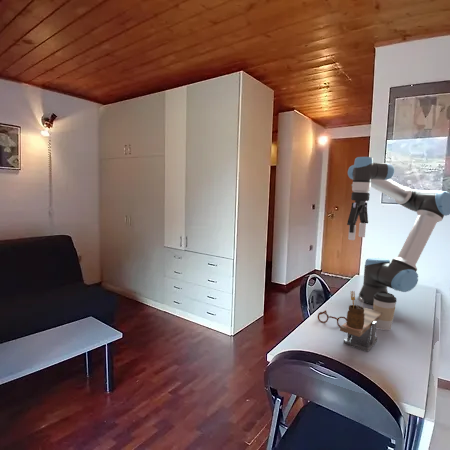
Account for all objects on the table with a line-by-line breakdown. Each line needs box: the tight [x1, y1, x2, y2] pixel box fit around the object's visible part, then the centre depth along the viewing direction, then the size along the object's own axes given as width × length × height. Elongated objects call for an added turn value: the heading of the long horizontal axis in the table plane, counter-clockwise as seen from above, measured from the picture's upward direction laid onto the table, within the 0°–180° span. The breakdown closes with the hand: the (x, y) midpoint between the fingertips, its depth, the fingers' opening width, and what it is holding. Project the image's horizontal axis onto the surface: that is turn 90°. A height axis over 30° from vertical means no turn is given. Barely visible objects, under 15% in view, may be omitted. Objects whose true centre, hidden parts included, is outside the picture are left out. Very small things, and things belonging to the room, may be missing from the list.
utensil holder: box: [346, 290, 365, 329], centre depth 119 cm, size 6×6×12 cm
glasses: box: [317, 309, 347, 328], centre depth 148 cm, size 13×13×5 cm
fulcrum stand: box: [342, 321, 378, 353], centre depth 127 cm, size 12×9×10 cm
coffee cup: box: [372, 291, 397, 331], centre depth 142 cm, size 9×9×15 cm
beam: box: [339, 307, 383, 337], centre depth 126 cm, size 28×7×2 cm, turn 140°
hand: (356, 238), depth 150 cm, fingers open, 13 cm apart
